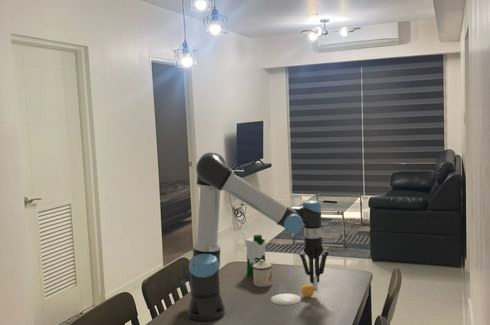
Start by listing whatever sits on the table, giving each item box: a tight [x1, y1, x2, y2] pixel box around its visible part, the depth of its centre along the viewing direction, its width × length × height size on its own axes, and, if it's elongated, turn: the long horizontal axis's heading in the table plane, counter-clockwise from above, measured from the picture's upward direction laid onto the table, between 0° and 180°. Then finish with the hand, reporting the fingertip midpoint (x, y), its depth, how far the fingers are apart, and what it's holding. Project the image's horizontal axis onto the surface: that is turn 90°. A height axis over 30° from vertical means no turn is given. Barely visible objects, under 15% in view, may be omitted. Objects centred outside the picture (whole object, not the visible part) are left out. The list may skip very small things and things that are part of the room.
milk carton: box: [244, 234, 267, 277], centre depth 252 cm, size 9×9×20 cm
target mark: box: [270, 293, 302, 306], centre depth 217 cm, size 13×13×1 cm
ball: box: [300, 283, 315, 298], centre depth 218 cm, size 6×6×6 cm
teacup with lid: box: [252, 260, 273, 288], centre depth 239 cm, size 12×9×12 cm
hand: (315, 289), depth 219 cm, fingers closed
